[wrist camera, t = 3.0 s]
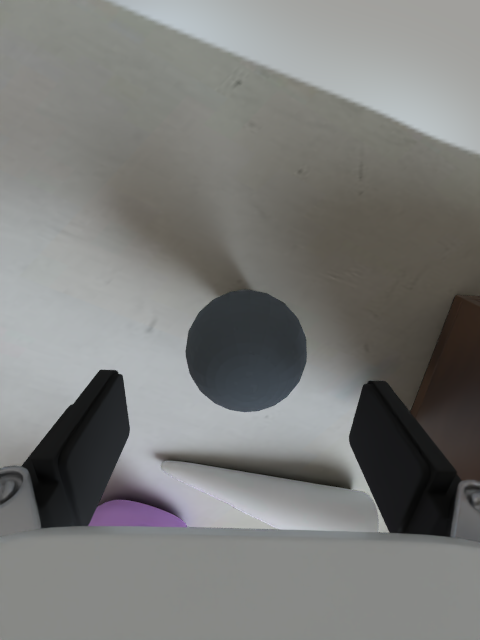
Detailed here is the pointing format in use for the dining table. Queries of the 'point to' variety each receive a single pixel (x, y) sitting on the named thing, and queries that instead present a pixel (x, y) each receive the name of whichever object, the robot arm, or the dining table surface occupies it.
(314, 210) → the dining table surface
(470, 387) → the chest
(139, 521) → the teapot
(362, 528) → the long cone
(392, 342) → the dining table surface
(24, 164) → the dining table surface
